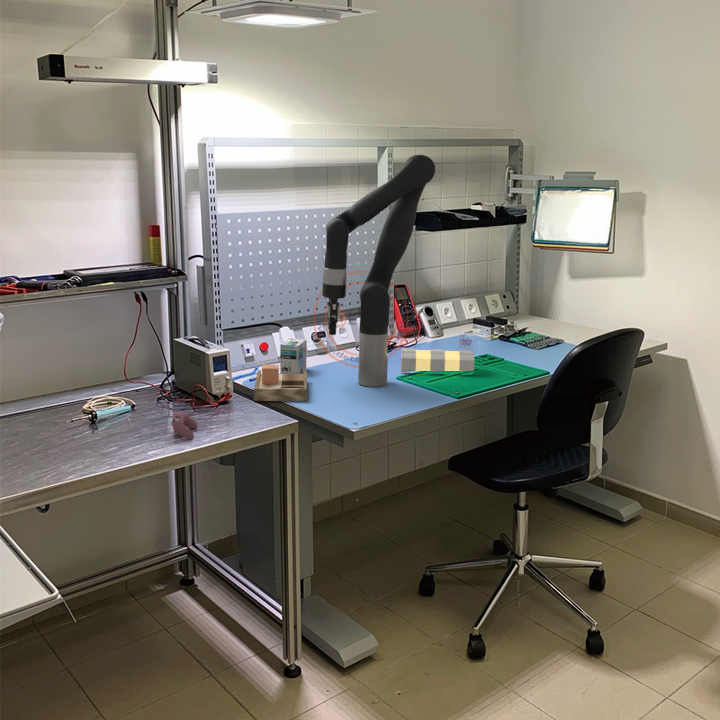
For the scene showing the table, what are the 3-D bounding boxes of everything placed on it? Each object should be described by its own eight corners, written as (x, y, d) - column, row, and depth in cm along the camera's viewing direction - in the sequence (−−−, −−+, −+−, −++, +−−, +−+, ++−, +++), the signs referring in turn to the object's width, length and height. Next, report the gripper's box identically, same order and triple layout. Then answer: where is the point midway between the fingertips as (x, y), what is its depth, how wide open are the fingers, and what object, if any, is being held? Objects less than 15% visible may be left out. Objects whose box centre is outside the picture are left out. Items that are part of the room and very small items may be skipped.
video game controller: (184, 433, 219) (171, 411, 217) (199, 426, 219) (186, 403, 217) (179, 445, 210) (166, 423, 208) (195, 438, 209) (182, 415, 208)
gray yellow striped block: (470, 369, 288) (472, 333, 285) (473, 377, 278) (475, 340, 275) (400, 367, 289) (402, 331, 286) (400, 374, 279) (402, 337, 276)
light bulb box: (298, 376, 272) (298, 345, 270) (279, 375, 273) (279, 344, 271) (307, 369, 282) (307, 339, 280) (288, 367, 284) (288, 337, 281)
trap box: (306, 381, 267) (306, 370, 266) (306, 400, 245) (307, 389, 244) (257, 381, 265) (257, 370, 265) (253, 400, 244) (253, 389, 243)
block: (278, 379, 259) (278, 364, 257) (278, 383, 254) (278, 368, 253) (262, 379, 258) (262, 364, 257) (262, 383, 253) (262, 368, 252)
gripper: (347, 286, 250) (344, 337, 254) (345, 279, 264) (342, 328, 268) (323, 285, 250) (320, 336, 254) (322, 278, 264) (319, 327, 267)
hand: (331, 332), depth 261 cm, fingers open, 8 cm apart
